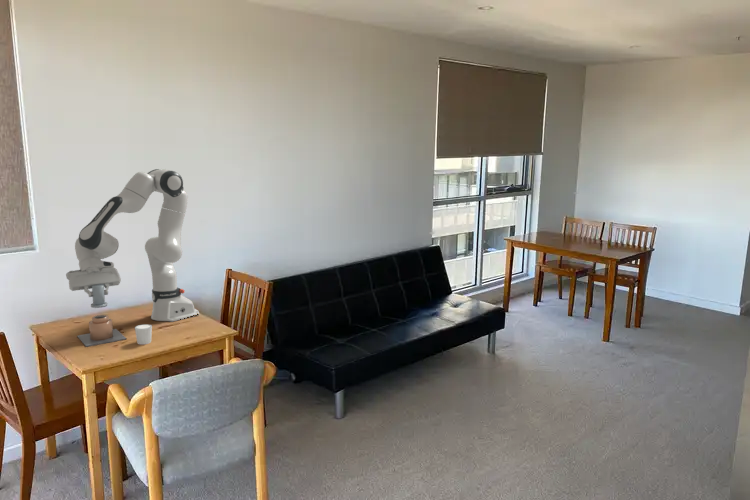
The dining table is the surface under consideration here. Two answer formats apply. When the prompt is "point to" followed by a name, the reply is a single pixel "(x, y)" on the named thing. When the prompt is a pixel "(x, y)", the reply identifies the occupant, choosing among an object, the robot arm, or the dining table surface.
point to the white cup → (143, 334)
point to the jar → (100, 332)
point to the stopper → (98, 296)
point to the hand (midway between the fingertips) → (98, 295)
